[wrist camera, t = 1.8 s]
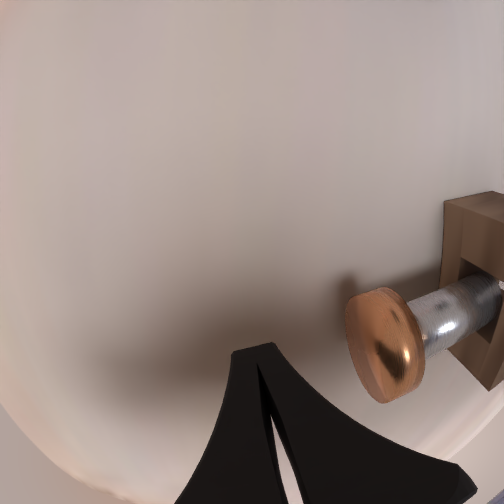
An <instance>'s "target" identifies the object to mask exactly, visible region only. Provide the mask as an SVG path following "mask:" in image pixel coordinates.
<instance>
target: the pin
mask: <svg viewBox="0 0 504 504" xmlns="http://www.w3.org/2000/svg"><path fill="white" fill-rule="evenodd" d="M501 306H502V294H501V290H500V287H499V285H498V283H497V281H496V280H495V278H494V277H493V276H492V275H491V274H489V273H487V272H485V271H478V272H476V273H474V274H471V275H469V276H467V277H465V278H463V279H461V280H459V281H456V282H454V283H452V284H450V285H447V286H445V287H443V288H441V289H438V290H436V291H434V292H431V293H429V294H426V295H424V296H422V297H419V298H417V299H414V300H412V301H409V302H407V303H406V302H405V301H404V300H403V298H402V297H401V296H400V295H399V294H398V293H396V292H395V291H393V290H392V289H390V288H386V287H381V288H378V289H375V290H372V291H369V292H365V293H362V294H359V295H356V296H353V297H352V298H351V299H350V300H349V301H348V304H347V307H346V314H345V326H346V335H347V341H348V346H349V350H350V354H351V357H352V360H353V363H354V366H355V369H356V371H357V374H358V376H359V378H360V380H361V382H362V384H363V385H364V387H365V389H366V390H367V392H368V393H369V394H370V395H371V396H372V398H373V399H375V400H376V401H378V402H379V403H388V402H390V401H392V400H395V399H397V398H399V397H401V396H403V395H405V394H407V393H409V392H411V391H413V390H415V389H416V388H417V387H418V386H419V384H420V383H421V381H422V378H423V374H424V370H425V360H426V359H428V358H430V357H432V356H434V355H435V354H437V353H439V352H441V351H443V350H445V349H447V348H448V347H450V346H452V345H454V344H455V343H457V342H459V341H461V340H462V339H464V338H466V337H467V336H469V335H470V334H472V333H474V332H475V331H477V330H478V329H480V328H482V327H483V326H485V325H486V324H488V323H489V322H491V321H492V320H494V319H495V318H496V317H497V316H498V314H499V313H500V310H501Z"/></svg>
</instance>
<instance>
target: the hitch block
mask: <svg viewBox="0 0 504 504" xmlns="http://www.w3.org/2000/svg"><path fill="white" fill-rule="evenodd" d="M478 271H485V272H487V273H489V274H491V275H492V276H493V277H494V278H495V280H496V281H497V283H498V284H499V280H501V281H503V282H504V194H501V193H498V192H494V191H490V192H485V193H480V194H476V195H471V196H466V197H462V198H457V199H453V200H448V201H444V238H443V254H442V265H441V275H440V283H439V289H441V288H443V287H445V286H447V285H450V284H452V283H454V282H456V281H459V280H461V279H463V278H465V277H467V276H469V275H471V274H474V273H476V272H478ZM500 290H501V294H502V306H501V310H500V313H499V314H498V316H497V317H496V318H495V319H494V320H492V321H491V322H489V323H488V324H486V325H485V326H483V327H482V328H480V329H478V330H477V331H475V332H474V333H472V334H470V335H469V336H467V337H466V338H464V339H462V340H461V341H459V342H457V343H455V344H454V345H452V346H450V347H448V348H447V349H448V350H449V351H450V352H451V353H452V354H453V355H454V356H455V357H456V358H457V359H458V360H459V361H460V362H461V363H462V364H463V365H464V366H465V367H466V368H467V369H468V370H469V371H470V372H471V374H472V375H473V376H474V377H475V378H476V379H477V380H478V381H479V382H480V383H481V384H482V385H483V386H484V387H485V388H486V389H487V390H488V391H490V390H492V389H493V388H494V387H495V386H496V385H498V384H499V383H500V382H501V381H502V380H504V290H502V289H501V288H500Z"/></svg>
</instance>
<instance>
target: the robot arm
mask: <svg viewBox="0 0 504 504" xmlns="http://www.w3.org/2000/svg"><path fill="white" fill-rule="evenodd" d="M270 414H271V415H270ZM271 417H272V419H273V422H274V424H275V427H276V429H277V432H278V434H279V437H280V439H281V442H282V444H283V447H284V449H285V452H286V454H287V457H288V459H289V461H290V464H291V466H292V469H293V472H294V474H295V477H296V480H297V484H298V487H299V490H300V494H301V497H302V500H303V503H304V504H463V503H464V502H466V501H467V500H468V499H470V498H471V497H472V496H473V495H474V494H476V492H477V489H478V488H477V487H476V485H475V484H474V482H473V481H472V479H471V478H470V477H469V476H468V475H467V474H466V473H465V471H464V470H463V469H461V467H460V466H459V465H458V464H455V463H451V462H447V461H444V460H440V459H437V458H433V457H430V456H427V455H424V454H421V453H419V452H416V451H414V450H411V449H409V448H406V447H404V446H401V445H399V444H397V443H395V442H393V441H391V440H389V439H387V438H385V437H383V436H381V435H379V434H377V433H375V432H373V431H371V430H370V429H368V428H366V427H365V426H363V425H361V424H360V423H358V422H357V421H355V420H353V419H352V418H351V417H349V416H348V415H346V414H345V413H343V412H342V411H341V410H339V409H338V408H337V407H335V406H334V405H333V404H331V403H330V402H329V401H328V400H327V399H325V398H324V397H323V396H322V395H321V394H319V393H318V392H317V391H316V390H315V389H314V388H313V387H312V386H311V385H310V384H309V383H308V382H307V381H306V380H305V379H304V378H303V377H302V376H301V375H300V374H299V373H298V372H297V371H296V370H295V369H294V368H293V367H292V366H291V364H290V363H289V362H288V361H287V360H286V358H285V357H284V356H283V354H282V353H281V352H280V350H279V349H278V347H277V346H276V344H275V343H273V342H270V343H266V344H262V345H258V346H254V347H250V348H246V349H241V350H237V351H234V352H233V353H232V354H231V365H230V372H229V377H228V383H227V387H226V391H225V395H224V399H223V403H222V406H221V409H220V412H219V415H218V418H217V421H216V424H215V427H214V430H213V432H212V435H211V437H210V440H209V442H208V445H207V447H206V449H205V451H204V453H203V456H202V458H201V460H200V462H199V464H198V465H197V467H196V469H195V471H194V473H193V475H192V477H191V478H190V480H189V482H188V484H187V485H186V487H185V488H184V490H183V491H182V493H181V494H180V496H179V497H178V499H177V500H176V502H175V503H174V504H288V500H287V497H286V493H285V490H284V486H283V483H282V479H281V474H280V470H279V464H278V458H277V452H276V445H275V439H274V433H273V427H272V421H271ZM487 504H504V489H503V490H502V491H501V492H500V493H499V494H497V495H496V496H495V497H494V498H493V499H492V500H491V501H489V502H488V503H487Z"/></svg>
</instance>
